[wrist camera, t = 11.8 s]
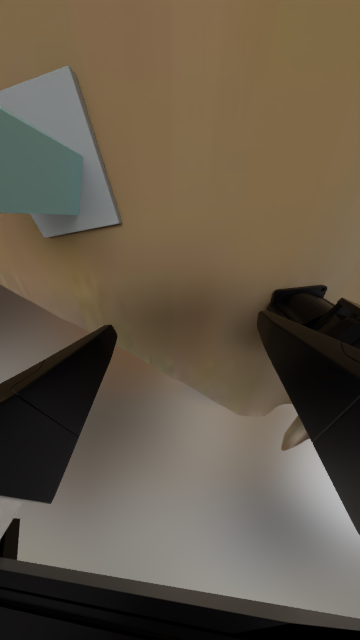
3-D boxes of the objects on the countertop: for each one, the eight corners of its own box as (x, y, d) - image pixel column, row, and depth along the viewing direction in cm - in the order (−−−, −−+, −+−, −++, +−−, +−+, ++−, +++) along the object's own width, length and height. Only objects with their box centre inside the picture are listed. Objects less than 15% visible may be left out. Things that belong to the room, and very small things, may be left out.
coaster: (75, 73, 12) (68, 65, 11) (122, 223, 17) (119, 223, 16) (-24, 110, 13) (-36, 104, 12) (49, 237, 19) (44, 237, 18)
